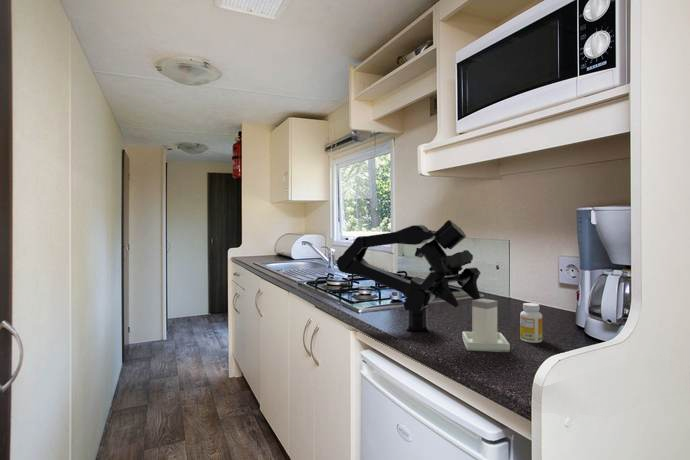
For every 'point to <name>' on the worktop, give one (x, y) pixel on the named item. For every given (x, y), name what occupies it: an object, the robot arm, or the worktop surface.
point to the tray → (486, 344)
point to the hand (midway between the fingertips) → (469, 304)
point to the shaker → (484, 320)
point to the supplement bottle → (531, 323)
